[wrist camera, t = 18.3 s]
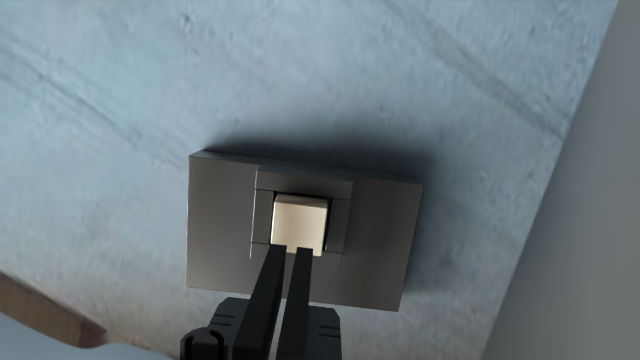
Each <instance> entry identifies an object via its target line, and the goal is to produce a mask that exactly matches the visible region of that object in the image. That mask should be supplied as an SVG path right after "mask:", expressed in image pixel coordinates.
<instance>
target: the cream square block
mask: <svg viewBox="0 0 640 360" xmlns="http://www.w3.org/2000/svg"><path fill="white" fill-rule="evenodd" d="M327 209H328V200H327V199H320V198H311V197H303V196H295V195H287V194H278V196H277V198H276V200H275V202H274V211H273V222H272V233H271V244H279V245H287V251H286V252H289V253H296V250H297V247H304V248H313V255H315V256H321V255H322V247H323V239H324V232H325V224H326V217H327Z"/></svg>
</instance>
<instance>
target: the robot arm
mask: <svg viewBox="0 0 640 360" xmlns="http://www.w3.org/2000/svg"><path fill="white" fill-rule="evenodd" d="M286 251H287V245H279V244H270V247H269V249H268V252H267V255H266V257H265V260H264V263H263V266H262V268H261V271H260V274H259V276H258V279H257V282H256V285H255V287H254V290H253V293H252V295H251V298H250V299H241V298H233V297H228V298H226V299H225V300H224V301H223V302H221V303H220V304H219V305H218V307H217V309H216V311H215V313H214V316H213V317H212V319H211V321H210V324H209V325H208V327H202V328H198V329H195V330H192V331H191V332H189V333H187V334H186V335H185V336H184V337H183V338H182V339H181V341H180V360H268V357H269V352H270V348H271V343H272V339H273V334H274V330H275V325H276V321H277V316H278V312H279V307H280V303H281V298H282V289H283V280H284V270H285V260H286ZM312 260H313V248H304V247H297V250H296V255H295V260H294V265H293V270H292V275H291V281H290V286H289V291H288V296H287V301H286V306H285V311H284V317H283V322H282V327H281V332H280V337H279V342H278V347H277V354H276V360H342V353H341V334H340V318H339V316H338V314H337V313H336V311H335V310H334V308H326V307H317V306H309V305H308V304H309V293H310V282H311V271H312Z"/></svg>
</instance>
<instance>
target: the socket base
mask: <svg viewBox="0 0 640 360" xmlns="http://www.w3.org/2000/svg"><path fill="white" fill-rule="evenodd" d="M423 188H424V184H423V183H422V182H421V181H420V180H419V179H418V178H417V177H415V176H406V175H398V174H390V173H382V172H374V171H365V170H357V169H349V168H341V167H333V166H324V165H316V164H308V163H300V162H292V161H283V160H275V159H267V158H259V157H251V156H242V155H234V154H226V153H218V152H210V151H201V150H200V151H198V152H196V153H194V154H191V155H189V156H188V195H187V239H186V283H185V286H186V287H190V288H199V289H207V290H216V291H224V292H233V293H241V294H250V295H252V293H253V290H254V287H255V285H256V282H257V279H258V276H259V274H260V271H261V268H262V266H263V263H264V260H265V257H266V255H267V252H268V249H269V247H270V244H271V233H272V222H273V211H274V202H275V200H276V198H277V196H278V194H287V195H295V196H303V197H311V198H320V199H327V200H328V209H327V217H326V224H325V232H324V239H323V247H322V255H321V256H315V255H313V260H312V271H311V282H310V293H309V302H317V303H326V304H334V305H343V306H351V307H360V308H368V309H377V310H385V311H394V312H398V310H399V305H400V301H401V296H402V291H403V286H404V281H405V276H406V271H407V266H408V261H409V257H410V252H411V247H412V242H413V237H414V232H415V227H416V222H417V218H418V213H419V208H420V203H421V198H422V193H423ZM295 255H296V253H289V252H286V260H285V270H284V280H283V289H282V298H284V299H287V296H288V291H289V286H290V281H291V275H292V270H293V265H294V260H295Z"/></svg>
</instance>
